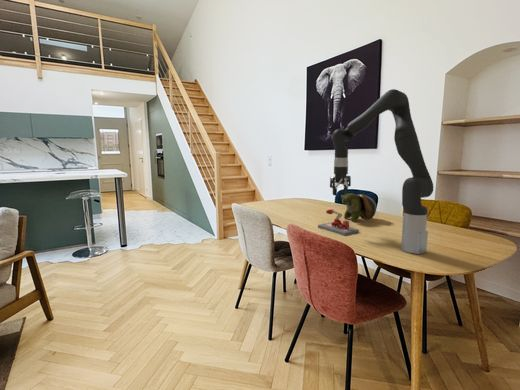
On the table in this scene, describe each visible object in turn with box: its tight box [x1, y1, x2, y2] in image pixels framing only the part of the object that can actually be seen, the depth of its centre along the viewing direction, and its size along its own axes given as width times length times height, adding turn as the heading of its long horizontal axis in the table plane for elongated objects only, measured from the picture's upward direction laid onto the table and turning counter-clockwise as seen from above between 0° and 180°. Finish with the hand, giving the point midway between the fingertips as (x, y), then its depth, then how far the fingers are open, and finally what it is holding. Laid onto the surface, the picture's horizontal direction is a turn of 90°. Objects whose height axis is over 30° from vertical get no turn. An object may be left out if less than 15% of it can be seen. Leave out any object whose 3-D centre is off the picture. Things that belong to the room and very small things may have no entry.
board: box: [317, 221, 360, 236], centre depth 163 cm, size 20×12×2 cm, turn 32°
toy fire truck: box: [326, 208, 350, 229], centre depth 162 cm, size 3×14×10 cm, turn 44°
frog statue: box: [340, 192, 377, 223], centre depth 185 cm, size 19×16×25 cm
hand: (340, 194), depth 160 cm, fingers open, 8 cm apart
